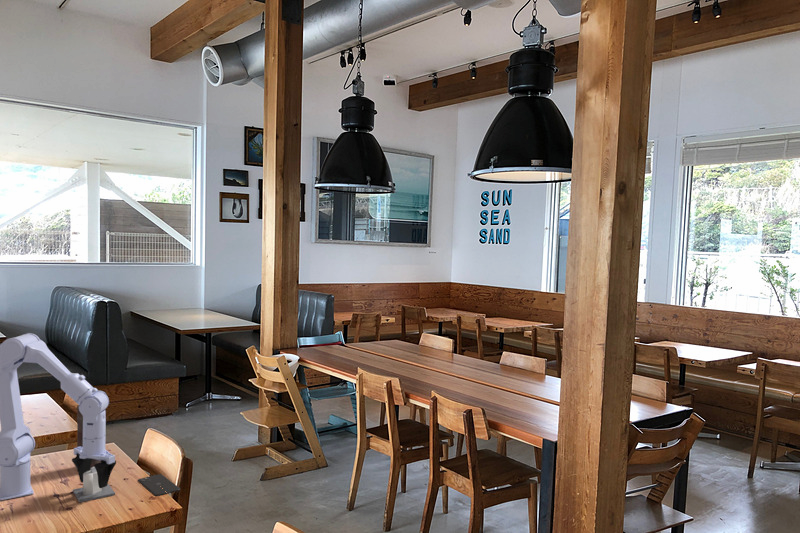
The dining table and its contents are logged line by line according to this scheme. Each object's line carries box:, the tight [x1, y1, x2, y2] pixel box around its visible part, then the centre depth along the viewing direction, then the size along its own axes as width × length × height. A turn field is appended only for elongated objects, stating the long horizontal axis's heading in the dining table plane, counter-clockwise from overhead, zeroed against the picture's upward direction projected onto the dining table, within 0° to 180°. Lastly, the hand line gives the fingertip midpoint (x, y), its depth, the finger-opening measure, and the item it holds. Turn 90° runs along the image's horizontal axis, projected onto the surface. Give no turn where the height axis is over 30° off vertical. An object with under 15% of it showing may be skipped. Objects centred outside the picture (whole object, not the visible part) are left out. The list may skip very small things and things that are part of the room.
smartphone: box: [137, 473, 181, 497], centre depth 182 cm, size 7×1×15 cm
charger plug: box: [82, 467, 104, 495], centre depth 175 cm, size 3×6×7 cm, turn 154°
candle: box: [76, 404, 101, 470], centre depth 193 cm, size 8×7×20 cm
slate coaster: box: [72, 483, 116, 503], centre depth 175 cm, size 9×9×1 cm
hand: (93, 484), depth 175 cm, fingers open, 7 cm apart
